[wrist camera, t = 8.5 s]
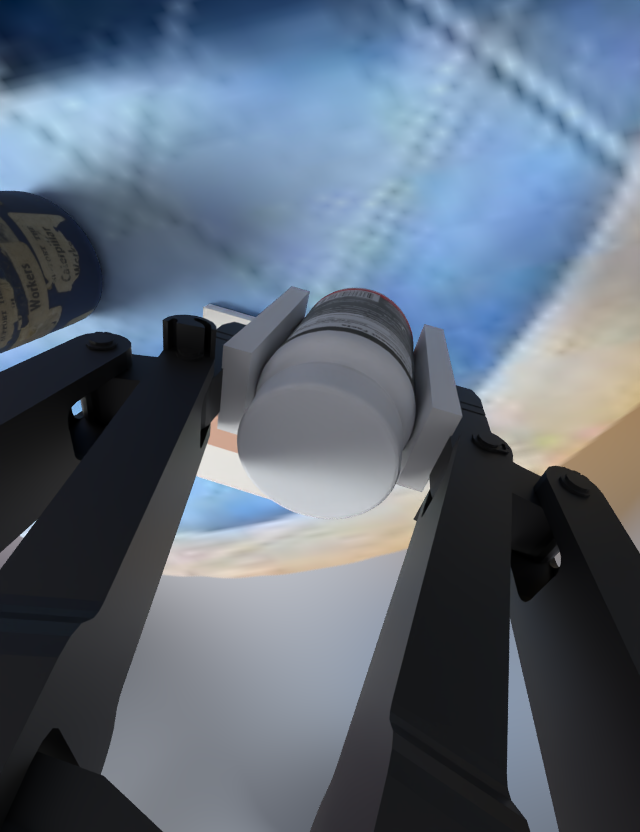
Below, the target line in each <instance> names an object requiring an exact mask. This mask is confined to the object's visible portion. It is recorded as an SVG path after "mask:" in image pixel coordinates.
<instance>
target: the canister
mask: <svg viewBox="0 0 640 832" xmlns="http://www.w3.org/2000/svg"><path fill="white" fill-rule="evenodd" d="M101 293H102V274H101V269H100V265H99V261H98V258H97V256H96V253H95V251H94V249H93V247H92V245H91V243H90V241H89V239H88V238H87V236H86V234H85V233H84V232H83V230H82V229H81V228H80V227H79V226H78V224H77V223H76V222H75V221H74V220H73V219H72V218H71V217H70V216H69V215H68V214H67V213H66V212H65V211H63V210H62V209H61V208H59V207H58V206H56V205H55V204H53V203H52V202H50V201H48V200H46V199H44V198H42V197H40V196H37V195H34V194H31V193H27V192H21V191H0V353H3V352H5V351H8V350H10V349H13V348H16V347H18V346H21V345H23V344H26V343H29V342H31V341H33V340H35V339H38V338H41V337H43V336H45V335H47V334H49V333H52V332H54V331H56V330H59V329H62V328H64V327H67V326H69V325H71V324H74V323H76V322H78V321H80V320H82V319H84V318H86V317H87V316H88V315H90V314H91V313H92V312H93V310H94V309H95V308H96V306H97V304H98V302H99V300H100V297H101Z"/></svg>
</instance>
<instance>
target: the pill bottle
mask: <svg viewBox="0 0 640 832" xmlns="http://www.w3.org/2000/svg"><path fill="white" fill-rule="evenodd" d="M414 371H415V370H414V359H413V336H412V331H411V328H410V325H409V323H408V321H407V319H406V317H405V315H404V314H403V312H402V311H401V309H400V308H399V307H398V306H397V305H396V304H395V303H394V302H393V301H392V300H390V299H389V298H388V297H386V296H384V295H383V294H381V293H379V292H376V291H373V290H369V289H364V288H347V289H342V290H338V291H335V292H333V293H331V294H329V295H327V296H325V297H324V298H322V299H321V300H320V301H319V302H318V303H317V304H316V305H315V306H314V307H313V308H312V309H311V310H310V312H309V313H308V314H307V316H306V317H305V318H304V319H303V321H302V322H301V323H300V324H299V325H298V327H297V328H296V329H295V330H294V331H293V333H292V334H291V335H290V336H289V337H288V338H287V339H286V341H285V342H284V343H283V344H282V345H281V346H280V347H279V349H278V350H277V351H276V352H275V353H274V354H273V356H272V357H271V358H270V360H269V361H268V362H267V364H266V366H265V367H264V369H263V371H262V373H261V375H260V378H259V380H258V384H257V388H256V395H255V397H254V399H253V401H252V402H251V404H250V405H249V407H248V408H247V410H246V411H245V413H244V415H243V417H242V419H241V421H240V424H239V428H238V434H237V449H238V455H239V458H240V461H241V464H242V466H243V468H244V470H245V472H246V474H247V475H248V477H249V478H250V480H251V481H252V482H253V484H254V485H255V486H256V487H257V488H258V489H259V490H260V491H261V492H262V493H263V494H265V495H266V496H267V497H268V498H270V499H271V500H273V501H274V502H276V503H277V504H279V505H281V506H282V507H284V508H286V509H288V510H290V511H293V512H296V513H299V514H302V515H305V516H310V517H315V518H321V519H342V518H348V517H353V516H356V515H360V514H362V513H365V512H367V511H369V510H371V509H373V508H374V507H376V506H377V505H379V504H380V503H381V502H382V501H383V500H385V499H386V497H387V496H388V495H389V494H390V492H391V491H392V490H393V488H394V486H395V484H396V482H397V479H398V477H399V474H400V469H401V459H402V450H403V449H404V447H405V446H406V444H407V442H408V440H409V438H410V436H411V434H412V431H413V427H414V422H415V415H416V399H415V379H414Z"/></svg>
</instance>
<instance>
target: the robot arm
mask: <svg viewBox="0 0 640 832" xmlns="http://www.w3.org/2000/svg"><path fill="white" fill-rule="evenodd" d="M309 293H310V291H307V290H303V289H300V288H296V287H293V286H292V287H290V288H289V289H288V290H287V291H286V292H285V293H283V294H282V295H281V296H280V297H279V298H278V299H276V300H275V301H274V302H273V303H272V304H271V305H269V306H268V307H267V308H266V309H265V310H264V311H262V312H261V313H260V314H259V315H258V316H257V317H255V318H254V319H253V320H252V321H251V322H250V323H248V324H247V325H244V324H241V323H238V322H231V323H227V324H223V325H221V326H220V327H219V328H217V329H216V325H215V324H214V323H213V322H211V321H209V320H207V319H205V318H202V317H198V316H192V315H174V316H170V317H167V318H165V319H164V320H163V349H164V350H163V351H162V353H161V354H160V355H159V357H151V356H142V355H134V354H132V351H131V342H130V341H129V340H128V339H127V338H125V337H122V336H120V335H116V334H112V333H109V332H104V333H103V332H95V333H90V334H85V335H82V336H78V337H76V338H74V339H72V340H69V341H67V342H65V343H63V344H61V345H58V346H56V347H54V348H52V349H50V350H47V351H45V352H43V353H41V354H39V355H37V356H34V357H32V358H30V359H28V360H26V361H23V362H21V363H19V364H17V365H15V366H12V367H10V368H8V369H6V370H4V371H2V372H0V552H1V551H3V550H4V549H5V548H6V547H7V546H8V545H9V544H10V543H11V542H13V541H14V540H15V539H16V538H17V537H18V536H19V535H20V534H22V533H23V532H24V531H25V530H26V529H27V528H28V527H29V526H30V525H32V524H33V523H34V522H35V521H36V520H37V519H38V520H37V521H36V522H35V524H34V525H33V526H32V528H31V529H30V530H29V532H28V533H27V534H26V536H25V537H24V538H23V540H22V541H21V543H20V544H19V545H18V546H17V548H16V549H15V551H14V552H13V553H12V555H11V556H10V557H9V559H8V560H7V561H6V563H5V564H4V565H3V567H2V568H1V569H0V832H162V831H161V830H160V829H159V828H158V827H157V826H156V825H155V824H154V823H153V822H152V821H151V820H150V819H149V818H148V817H147V816H146V815H145V814H143V813H142V812H141V811H140V810H139V809H138V808H137V807H136V806H135V805H134V804H133V803H132V802H131V801H130V800H129V799H128V798H126V797H125V796H124V795H123V794H122V793H121V792H120V791H119V790H118V789H117V788H116V787H115V786H114V785H113V784H112V783H110V781H108V780H107V779H106V778H105V777H104V776H102V775H101V772H102V769H103V766H104V762H105V759H106V756H107V753H108V749H109V745H110V742H111V738H112V734H113V729H114V722H115V717H116V710H117V705H118V702H119V697H120V694H121V691H122V688H123V685H124V682H125V679H126V676H127V673H128V670H129V668H130V665H131V662H132V659H133V656H134V653H135V650H136V647H137V644H138V642H139V639H140V636H141V633H142V630H143V627H144V624H145V621H146V619H147V616H148V613H149V610H150V607H151V604H152V601H153V598H154V595H155V592H156V590H157V587H158V584H159V581H160V578H161V575H162V572H163V570H164V567H165V564H166V561H167V558H168V555H169V552H170V549H171V547H172V544H173V541H174V538H175V535H176V532H177V529H178V526H179V524H180V521H181V518H182V515H183V512H184V509H185V506H186V503H187V500H188V498H189V495H190V492H191V489H192V486H193V483H194V480H195V477H196V475H197V472H198V469H199V466H200V463H201V460H202V457H203V454H204V451H205V449H206V446H207V443H208V440H209V437H210V429H211V422H212V421H213V419H214V418H215V417H216V416H217V415H218V425H217V429H220V430H223V431H226V432H230V433H233V434H236V435H237V434H238V428H239V424H240V421H241V419H242V417H243V415H244V413H245V411H246V410H247V408H248V407H249V405H250V404H251V402H252V401H253V399H254V397H255V395H256V388H257V384H258V380H259V378H260V375H261V373H262V371H263V369H264V367H265V366H266V364H267V362H268V361H269V360H270V358H271V357H272V356H273V354H274V353H275V352H276V351H277V350H278V349H279V347H280V346H281V345H282V344H283V343H284V342H285V341H286V339H287V338H288V337H289V336H290V335H291V334H292V333H293V331H294V330H295V329H296V328H297V327H298V325H299V324H300V323H301V322H302V321H303V319H304V318H305V313H306V308H307V303H308V298H309ZM413 359H414V370H415V371H414V379H415V399H416V415H415V422H414V427H413V431H412V434H411V436H410V438H409V440H408V442H407V444H406V446H405V447H404V449H403V450H402V459H401V469H400V474H399V477H398V479H397V483H396V484H397V485H400V486H404V487H407V488H410V489H413V490H417V491H420V492H422V491H423V489H424V487H425V485H426V484H427V482H428V480H429V478H430V490H429V492H428V494H427V496H426V498H425V499H424V501H423V503H422V505H421V507H420V508H419V510H418V512H417V514H416V516H415V518H414V520H416V521H417V522H416V525H415V529H414V532H413V535H412V538H411V541H410V544H409V547H408V550H407V553H406V556H405V559H404V562H403V565H402V568H401V571H400V574H399V577H398V581H397V584H396V587H395V590H394V593H393V596H392V599H391V602H390V605H389V608H388V611H387V614H386V617H385V620H384V623H383V627H382V629H381V632H380V636H379V639H378V642H377V645H376V648H375V651H374V654H373V657H372V660H371V663H370V666H369V669H368V672H367V675H366V678H365V681H364V685H363V688H362V691H361V694H360V697H359V700H358V703H357V706H356V709H355V712H354V715H353V718H352V721H351V724H350V727H349V730H348V734H347V737H346V740H345V743H344V746H343V749H342V752H341V755H340V758H339V761H338V764H337V767H336V770H335V773H334V775H333V778H332V780H331V783H330V785H329V787H328V789H327V791H326V794H325V796H324V798H323V800H322V802H321V805H320V807H319V809H318V812H317V815H316V817H315V819H314V822H313V825H312V827H311V830H310V832H530V829H529V826H528V823H527V820H526V819H525V818H524V816H523V815H522V814H521V812H520V811H519V810H518V809H517V807H516V806H515V805H514V803H513V802H512V801H511V798H510V795H509V791H508V787H507V732H508V731H507V730H508V680H509V679H508V678H509V677H508V676H509V629H510V628H509V627H510V619H511V624H512V628H513V632H514V637H515V641H516V645H517V650H518V654H519V658H520V663H521V667H522V672H523V676H524V680H525V684H526V689H527V693H528V698H529V702H530V706H531V711H532V715H533V720H534V724H535V728H536V732H537V737H538V741H539V745H540V750H541V754H542V759H543V763H544V767H545V772H546V776H547V781H548V785H549V789H550V794H551V798H552V802H553V806H554V811H555V815H556V820H557V824H558V829H559V832H640V553H639V551H638V550H637V548H636V547H635V545H634V543H633V542H632V540H631V538H630V537H629V535H628V534H627V532H626V530H625V529H624V527H623V526H622V524H621V522H620V521H619V519H618V518H617V516H616V514H615V513H614V511H613V509H612V508H611V506H610V505H609V503H608V501H607V500H606V498H605V497H604V495H603V494H602V492H601V491H600V490H599V489H598V488H597V486H595V485H594V484H593V483H592V482H591V481H589V479H588V478H587V477H585V476H584V475H580V473H578V472H576V471H572V470H570V469H567V468H565V467H560V466H551V467H548V469H547V470H546V471H545V472H544V474H543V475H542V476H539V475H537V474H535V473H533V472H531V471H529V470H527V469H525V468H523V467H521V466H519V465H517V464H515V463H514V462H513V453H512V450H511V448H510V447H509V446H508V444H507V443H506V442H505V441H504V440H502V439H501V438H500V437H498V436H497V435H495V434H493V433H491V431H490V428H489V425H488V421H487V418H486V417H485V412H484V409H483V406H482V403H481V400H480V398H479V397H478V396H477V395H476V394H475V393H474V392H473V391H472V390H470V389H467V388H463V387H460V386H457V385H455V380H454V376H453V371H452V367H451V362H450V358H449V354H448V349H447V345H446V340H445V336H444V331H443V329H440V328H436V327H433V326H429V325H426V324H424V327H423V329H422V332H421V334H420V337H419V339H418V342H417V344H416V347H415V349H414V352H413ZM79 400H81V405H82V411H81V412H80V413H79V414H77V415H75V416H74V415H73V413H72V408H71V407H72V406H73V405H74V404H75V403H76V402H77V401H79ZM559 551H560V554H561V565H560V567H558V565H557V563H556V561H555V558H554V557H555V555H557V554H558V553H559Z"/></svg>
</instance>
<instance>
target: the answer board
mask: <svg viewBox="0 0 640 832" xmlns="http://www.w3.org/2000/svg"><path fill="white" fill-rule="evenodd" d="M203 318H205V319H207V320H209V321H211V322H213V323H214V324H215V325H216V329H217V328H219V327H220V326H221V325H223V324H227V323H231V322H238V323H241V324H244V325H247V324H248V323H250V322H251V321H252V320H253V319H254V318H255V317H253V316H250V315H246V314H243V313H240V312H236V311H233V310H229V309H226V308H222V307H219V306H215V305H212V304H208V305H206V306H205V307H203ZM217 425H218V415H217V416H216V417H215V418H214V419H213V421H212V422H211V429H210V437H209V440H208V443H207V446H206V449H205V451H204V454H203V457H202V460H201V463H200V466H199V469H198V472H197V475H196V476H197V477H201V478H204V479H207V480H210V481H213V482H216V483H220V484H223V485H226V486H229V487H232V488H236V489H239V490H242V491H245V492H248V493H251V494H255V495H258V496H261V497H264V498H267V499H270V498H268V497H267V496H266V495H265V494H263V493H262V492H261V491H260V490H259V489H258V488H257V487H256V486H255V485H254V484H253V482H252V481H251V480H250V478H249V477H248V475H247V474H246V472H245V470H244V468H243V466H242V464H241V461H240V458H239V455H238V449H237V435H236V434H233V433H230V432H226V431H223V430H220V429H217ZM270 500H271V499H270Z"/></svg>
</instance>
